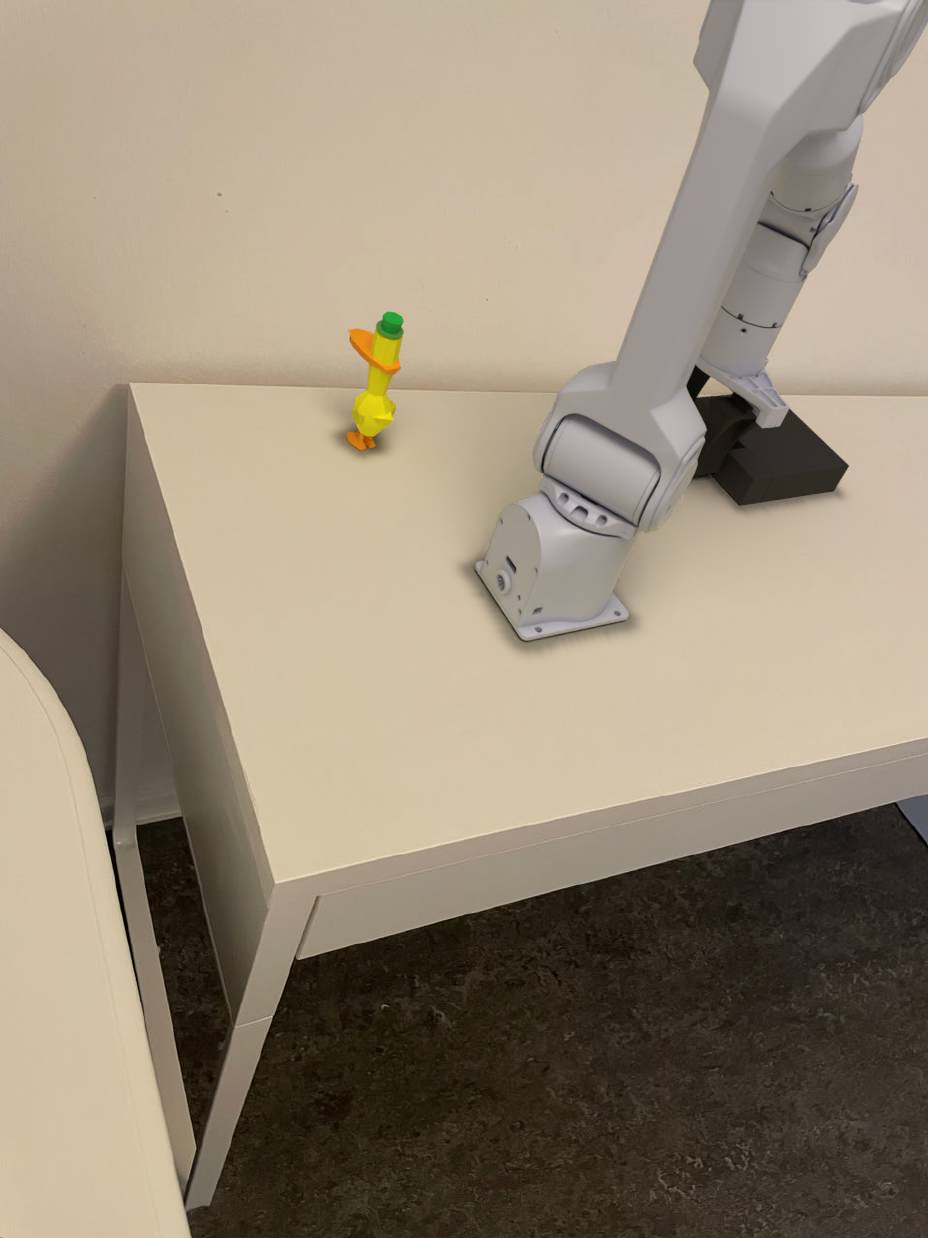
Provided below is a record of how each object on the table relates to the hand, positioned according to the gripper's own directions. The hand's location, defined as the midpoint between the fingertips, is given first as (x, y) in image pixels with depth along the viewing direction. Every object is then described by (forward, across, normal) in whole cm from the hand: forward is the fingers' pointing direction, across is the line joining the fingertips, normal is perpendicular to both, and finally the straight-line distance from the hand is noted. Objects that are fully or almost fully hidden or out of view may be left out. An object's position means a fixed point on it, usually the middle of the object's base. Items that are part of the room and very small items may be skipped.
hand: (686, 445), depth 92 cm
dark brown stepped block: (+1, 0, 0) cm, 1 cm away
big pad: (+2, 0, -9) cm, 9 cm away
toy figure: (+3, +8, +28) cm, 29 cm away
